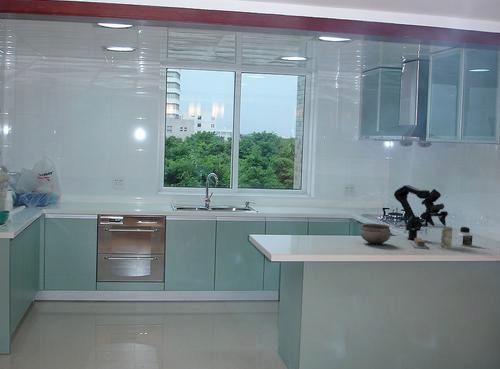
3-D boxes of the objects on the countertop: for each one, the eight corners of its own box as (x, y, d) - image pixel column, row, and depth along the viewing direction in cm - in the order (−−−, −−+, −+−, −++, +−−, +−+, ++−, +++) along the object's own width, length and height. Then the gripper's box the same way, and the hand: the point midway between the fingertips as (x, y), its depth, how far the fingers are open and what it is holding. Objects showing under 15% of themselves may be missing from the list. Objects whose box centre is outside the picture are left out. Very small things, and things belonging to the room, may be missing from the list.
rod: (440, 247, 386) (442, 226, 385) (446, 246, 387) (447, 226, 387) (445, 248, 381) (446, 227, 381) (451, 248, 383) (452, 227, 382)
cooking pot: (350, 242, 390) (351, 223, 389) (369, 240, 402) (370, 222, 401) (381, 248, 370) (382, 228, 370) (400, 245, 383) (401, 226, 382)
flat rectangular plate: (409, 243, 396) (410, 237, 396) (423, 244, 395) (424, 238, 395) (413, 248, 376) (414, 241, 376) (428, 248, 375) (429, 242, 375)
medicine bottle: (462, 245, 395) (463, 227, 394) (456, 244, 402) (457, 226, 401) (472, 245, 397) (473, 227, 396) (465, 244, 404) (467, 226, 403)
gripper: (425, 199, 390) (435, 218, 381) (447, 199, 397) (457, 218, 389) (416, 208, 398) (425, 228, 389) (438, 208, 406) (448, 228, 397)
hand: (439, 225), depth 391 cm, fingers open, 9 cm apart
